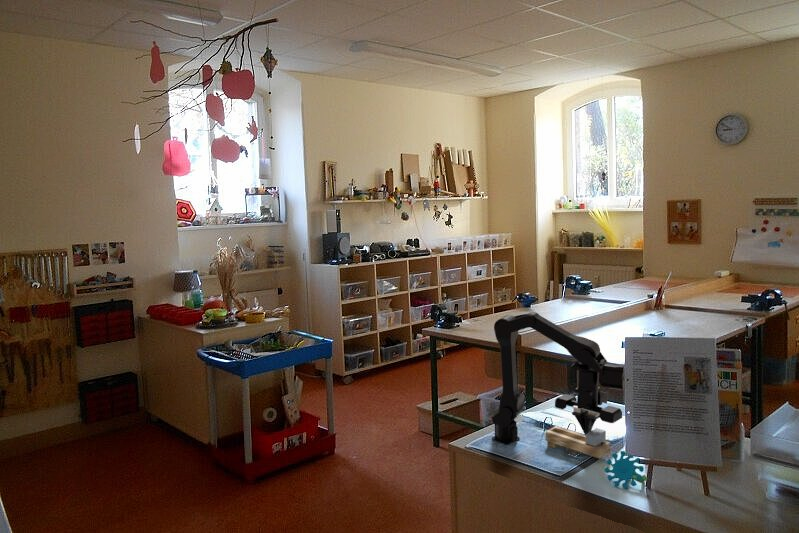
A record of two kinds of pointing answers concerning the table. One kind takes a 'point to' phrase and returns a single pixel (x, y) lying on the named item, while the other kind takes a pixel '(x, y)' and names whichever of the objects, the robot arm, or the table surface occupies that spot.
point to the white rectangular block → (595, 437)
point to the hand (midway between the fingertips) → (587, 435)
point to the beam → (574, 442)
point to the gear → (625, 470)
